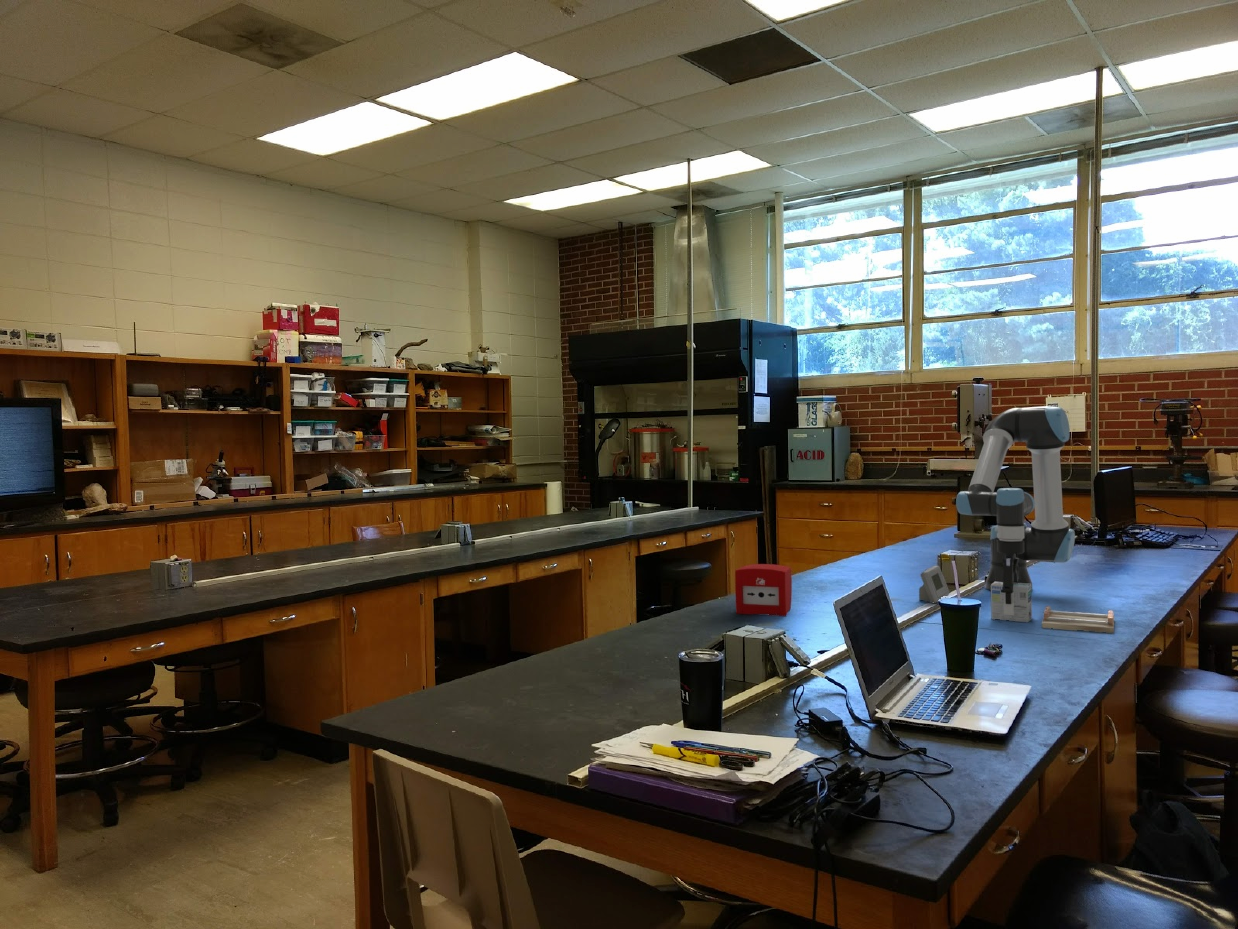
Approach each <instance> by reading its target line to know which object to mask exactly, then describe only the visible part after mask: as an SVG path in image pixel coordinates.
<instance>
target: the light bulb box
mask: <svg viewBox="0 0 1238 929" xmlns="http://www.w3.org/2000/svg"><path fill="white" fill-rule="evenodd" d="M1002 589H1003V582H994V583H992V584H991V590H990V616H991V618H990V619H991V620H995V619H1000V620H999V621H1006V620H1009V622H1020V623H1030V621H1031V620H1032V618H1033V615H1032V613H1033V612H1032V611H1033V610H1032V608H1033V607H1032V602H1033V601H1032V590H1031V584H1026V583H1013V593H1014V615H1005V614H1004V596H1003V593H1001V590H1002Z"/></svg>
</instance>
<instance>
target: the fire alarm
mask: <svg viewBox="0 0 1238 929" xmlns="http://www.w3.org/2000/svg"><path fill="white" fill-rule="evenodd" d="M734 571H735V572H734V577H735V578H734V581H735V582H734V585H735V589H734V590H735V610H736V611H735V613H736V614H737V615H738V614H739V615H753V614H769V615H768V616H772V615H779V616H778V617H787V616H786V615H788V613H789V612H790V611H791V610H790V609H792V594H793V593H792V592H793V591H792V589H793V586H792V584H793V580H792V567H791V566H786V565H780V564H771V563H767V564H766V563H756V564H755V563H754V564H753V563H752V564H749V565H748V564H747V565H743V566H741V567H739V568H738V569H735V570H734ZM789 610H790V611H789ZM788 611H789V612H788Z"/></svg>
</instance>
